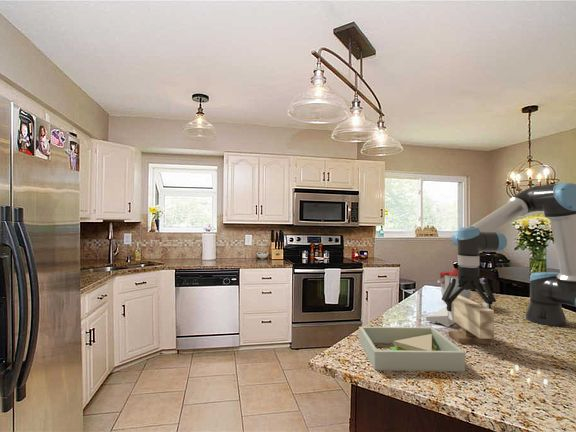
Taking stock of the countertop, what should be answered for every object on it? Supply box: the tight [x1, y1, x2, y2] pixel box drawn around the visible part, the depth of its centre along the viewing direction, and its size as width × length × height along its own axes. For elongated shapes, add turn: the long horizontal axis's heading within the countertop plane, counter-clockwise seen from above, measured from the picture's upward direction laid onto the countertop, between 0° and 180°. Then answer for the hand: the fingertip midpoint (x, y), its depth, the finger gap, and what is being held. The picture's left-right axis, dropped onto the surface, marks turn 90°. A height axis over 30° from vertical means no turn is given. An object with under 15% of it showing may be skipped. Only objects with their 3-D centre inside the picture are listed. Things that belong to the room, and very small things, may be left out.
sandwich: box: [388, 334, 437, 351], centre depth 113 cm, size 15×20×5 cm
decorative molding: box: [425, 306, 456, 328], centre depth 156 cm, size 34×5×10 cm
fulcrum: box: [448, 326, 491, 345], centre depth 127 cm, size 12×8×5 cm, turn 89°
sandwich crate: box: [358, 326, 466, 372], centre depth 112 cm, size 28×23×6 cm
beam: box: [448, 295, 495, 340], centre depth 127 cm, size 5×24×10 cm, turn 179°
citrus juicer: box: [437, 268, 472, 304], centre depth 181 cm, size 16×17×20 cm
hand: (468, 319), depth 127 cm, fingers open, 13 cm apart
